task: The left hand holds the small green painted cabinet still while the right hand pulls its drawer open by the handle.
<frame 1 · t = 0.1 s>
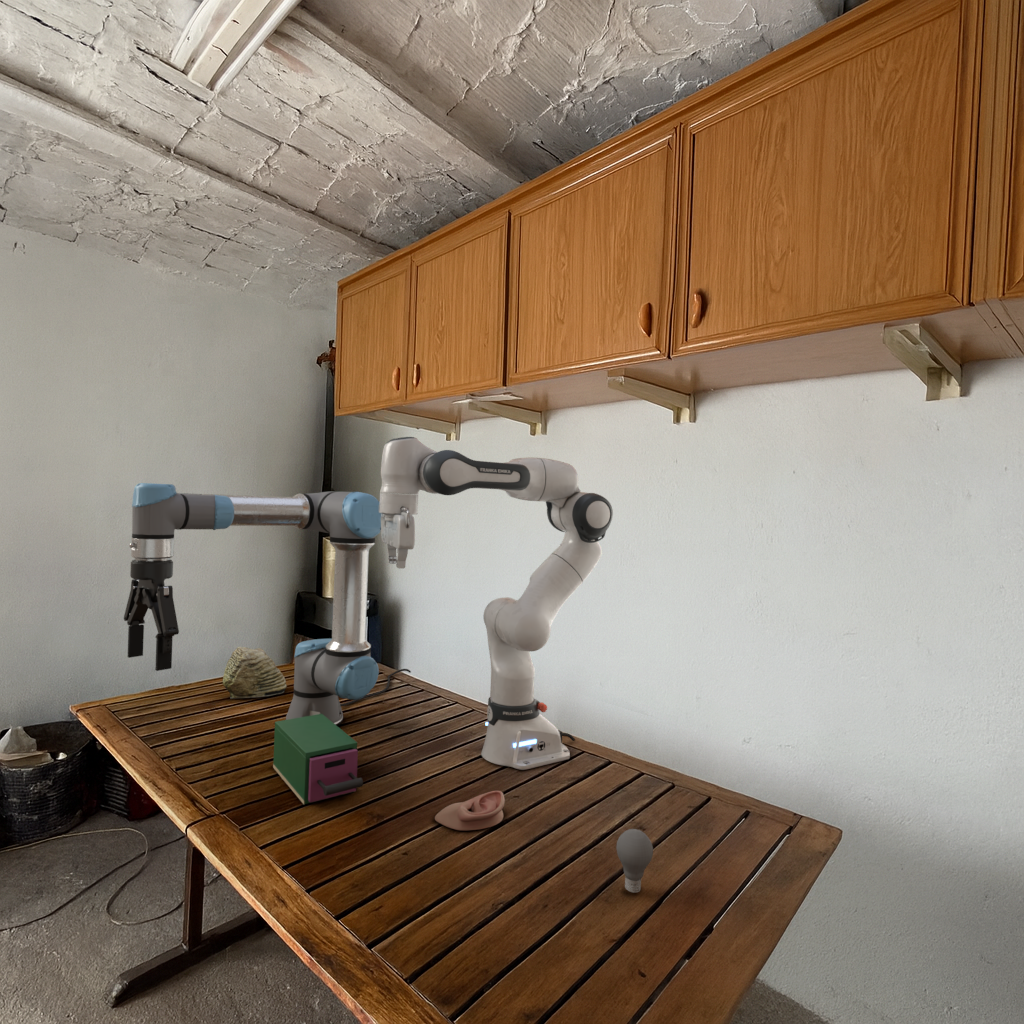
left hand: (148, 662, 129), 28 cm above the table, tool pointing down, fingers open, 13 cm apart
right hand: (396, 565, 147), 48 cm above the table, tool pointing down, fingers open, 8 cm apart
light bulb: (632, 891, 106), on the table
fossil: (254, 694, 198), on the table
cabinet: (312, 779, 142), on the table
anatomical model: (470, 818, 128), on the table
drawer: (322, 763, 138), point 5 cm above the table, slide at 0.6 cm
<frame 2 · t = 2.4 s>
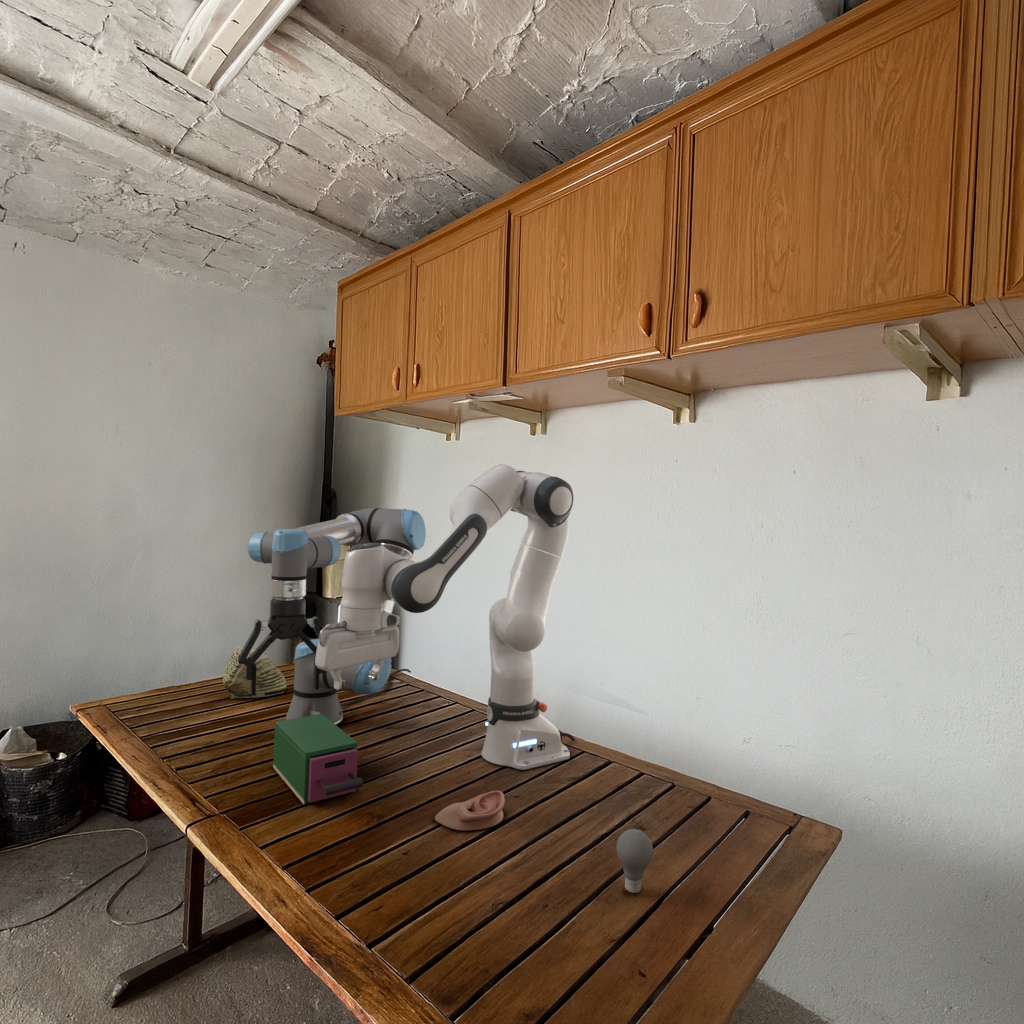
left hand: (285, 690, 144), 19 cm above the table, tool pointing down, fingers open, 13 cm apart
right hand: (356, 684, 134), 24 cm above the table, tool pointing down, fingers open, 8 cm apart
nothing on the table moved.
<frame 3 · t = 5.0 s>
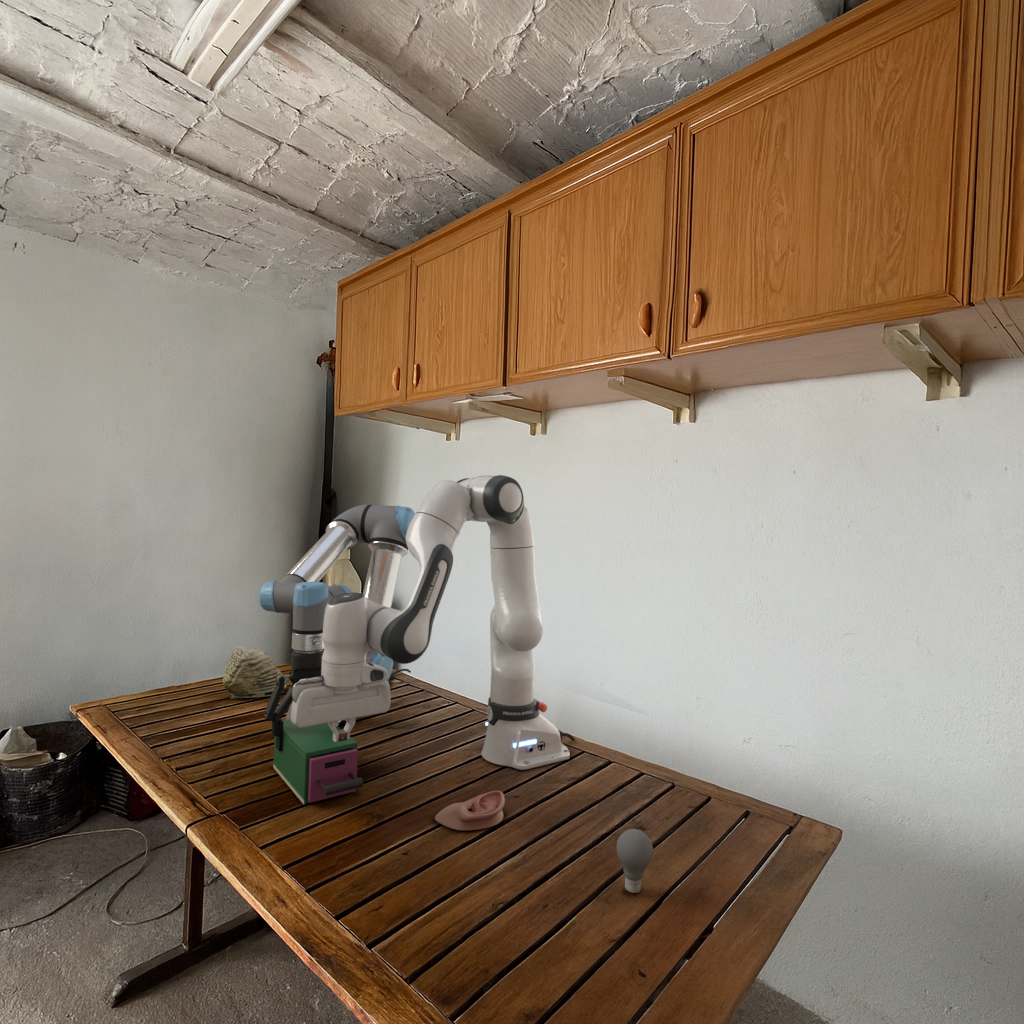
left hand: (305, 744, 146), 6 cm above the table, tool pointing down, fingers closed on cabinet, 11 cm apart
right hand: (341, 740, 130), 14 cm above the table, tool pointing down, fingers closed
cabinet: (312, 779, 142), on the table, touching left hand
everything else where it was.
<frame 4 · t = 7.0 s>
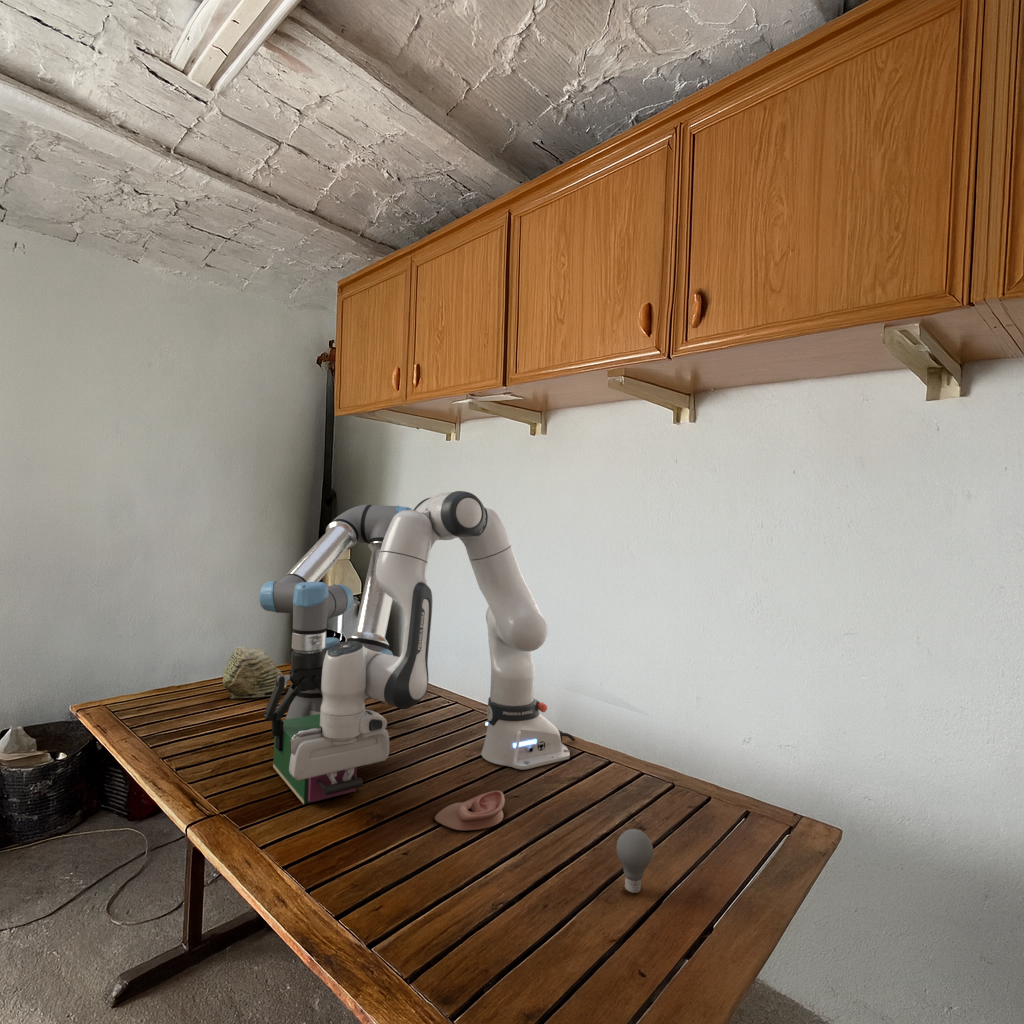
left hand: (305, 743, 146), 6 cm above the table, tool pointing down, fingers closed on cabinet, 11 cm apart
right hand: (339, 790, 130), 4 cm above the table, tool pointing down, fingers closed, pressing on drawer
cabinet: (312, 778, 142), on the table, touching left hand
drawer: (322, 763, 138), point 5 cm above the table, slide at 0.6 cm, touching right hand
everything else where it was.
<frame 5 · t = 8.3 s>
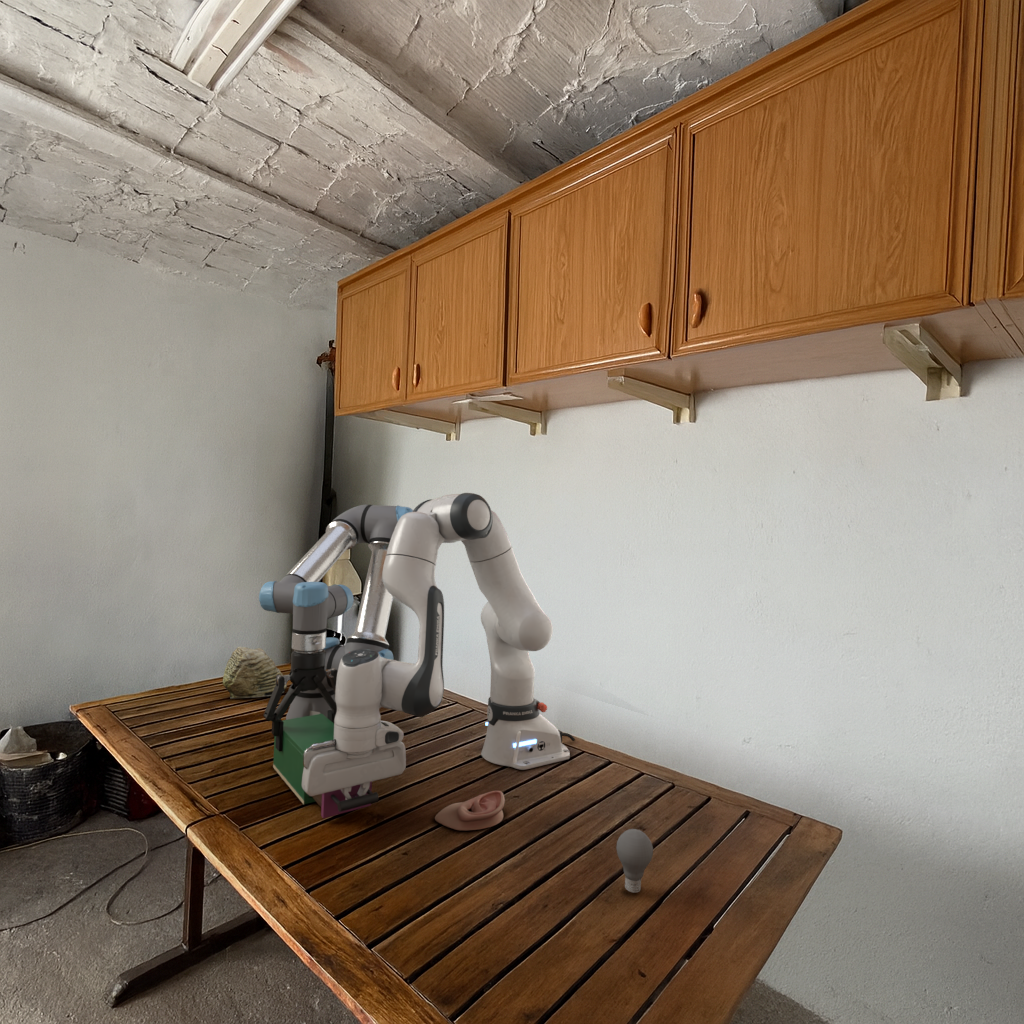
left hand: (305, 744, 146), 6 cm above the table, tool pointing down, fingers closed on cabinet, 11 cm apart
right hand: (354, 805, 123), 4 cm above the table, tool pointing down, fingers closed, pressing on drawer
cabinet: (312, 779, 142), on the table, touching left hand
drawer: (335, 776, 132), point 5 cm above the table, slide at 8.1 cm, touching right hand
everything else where it was.
when the left hand's fingers open (6 cm above the table, at t = 10.1 s): cabinet stays where it is, on the table.
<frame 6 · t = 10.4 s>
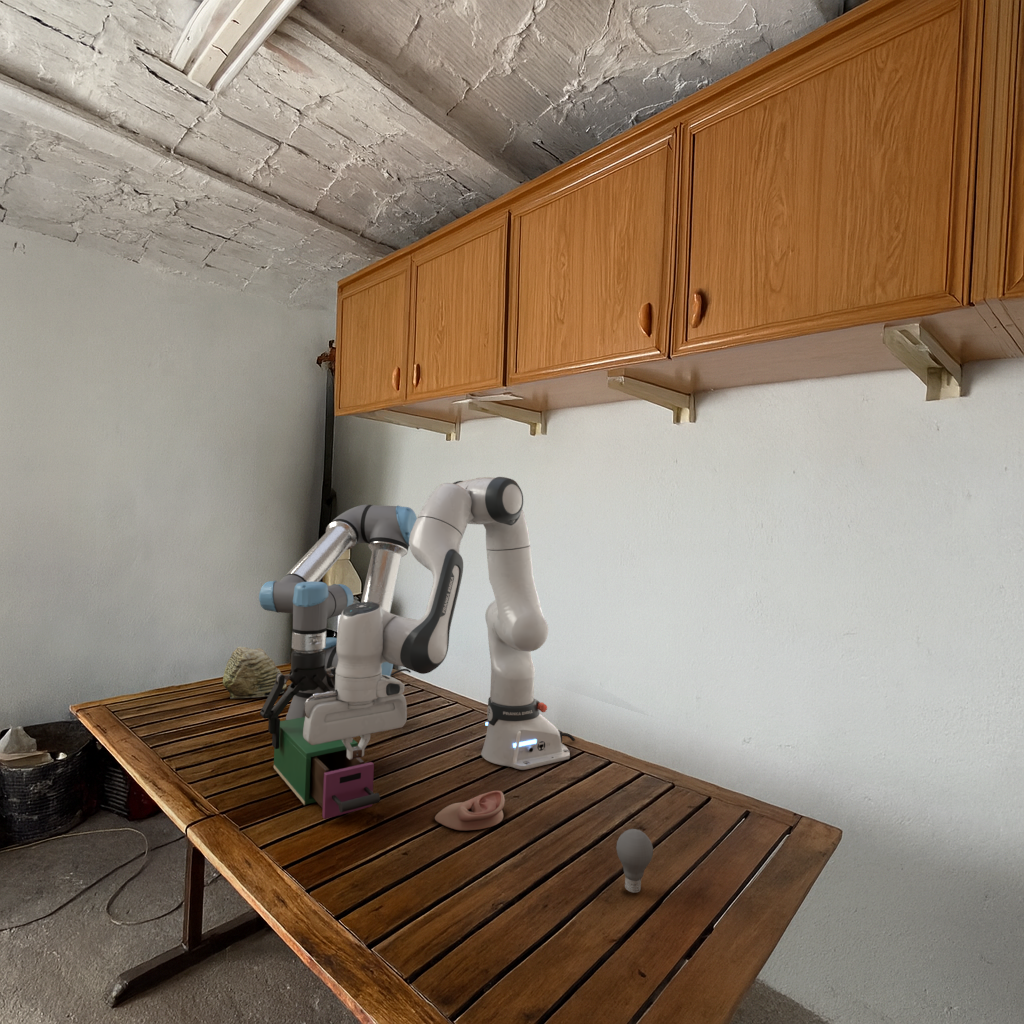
left hand: (305, 741, 146), 7 cm above the table, tool pointing down, fingers open, 13 cm apart
right hand: (355, 757, 124), 13 cm above the table, tool pointing down, fingers closed
cabinet: (313, 779, 142), on the table
drawer: (336, 777, 131), point 5 cm above the table, slide at 8.3 cm
everything else where it was.
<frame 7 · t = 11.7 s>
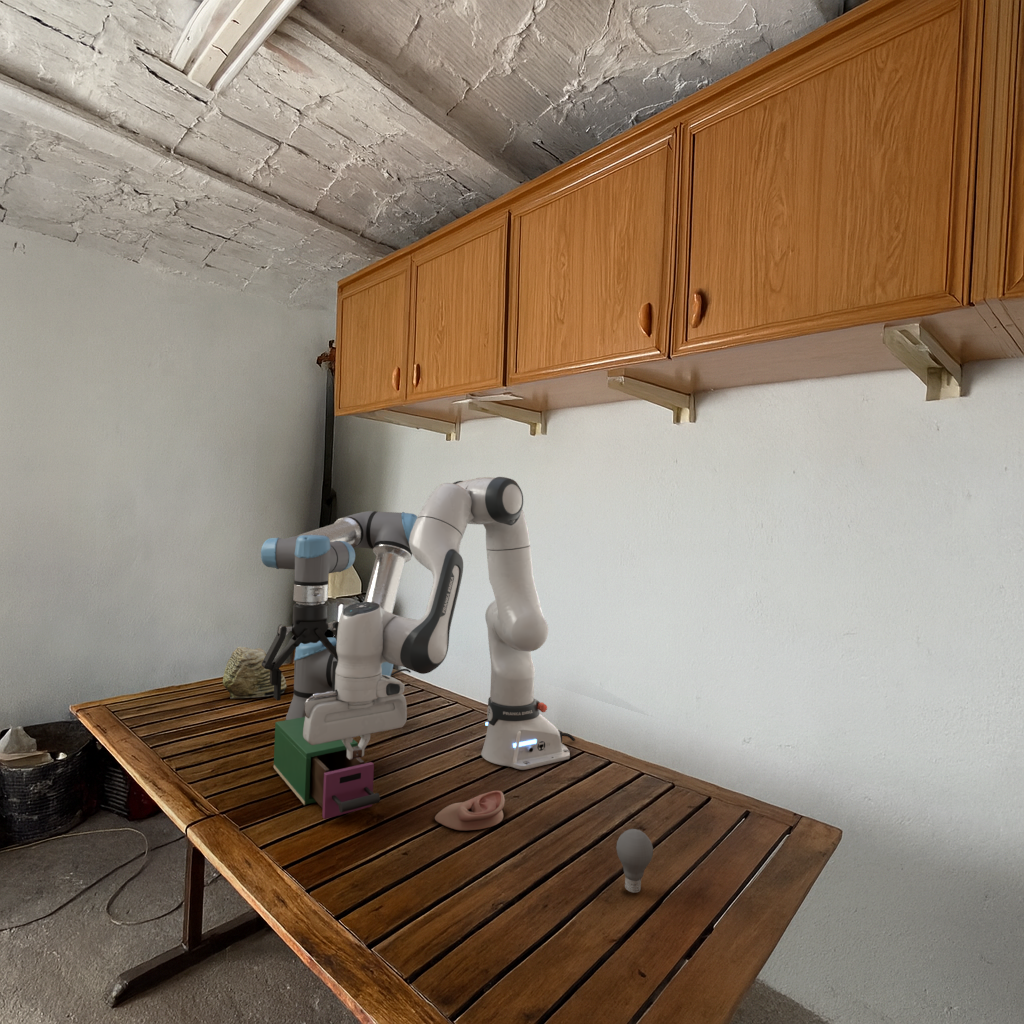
left hand: (307, 694, 146), 18 cm above the table, tool pointing down, fingers open, 13 cm apart
right hand: (355, 757, 124), 13 cm above the table, tool pointing down, fingers closed
nothing on the table moved.
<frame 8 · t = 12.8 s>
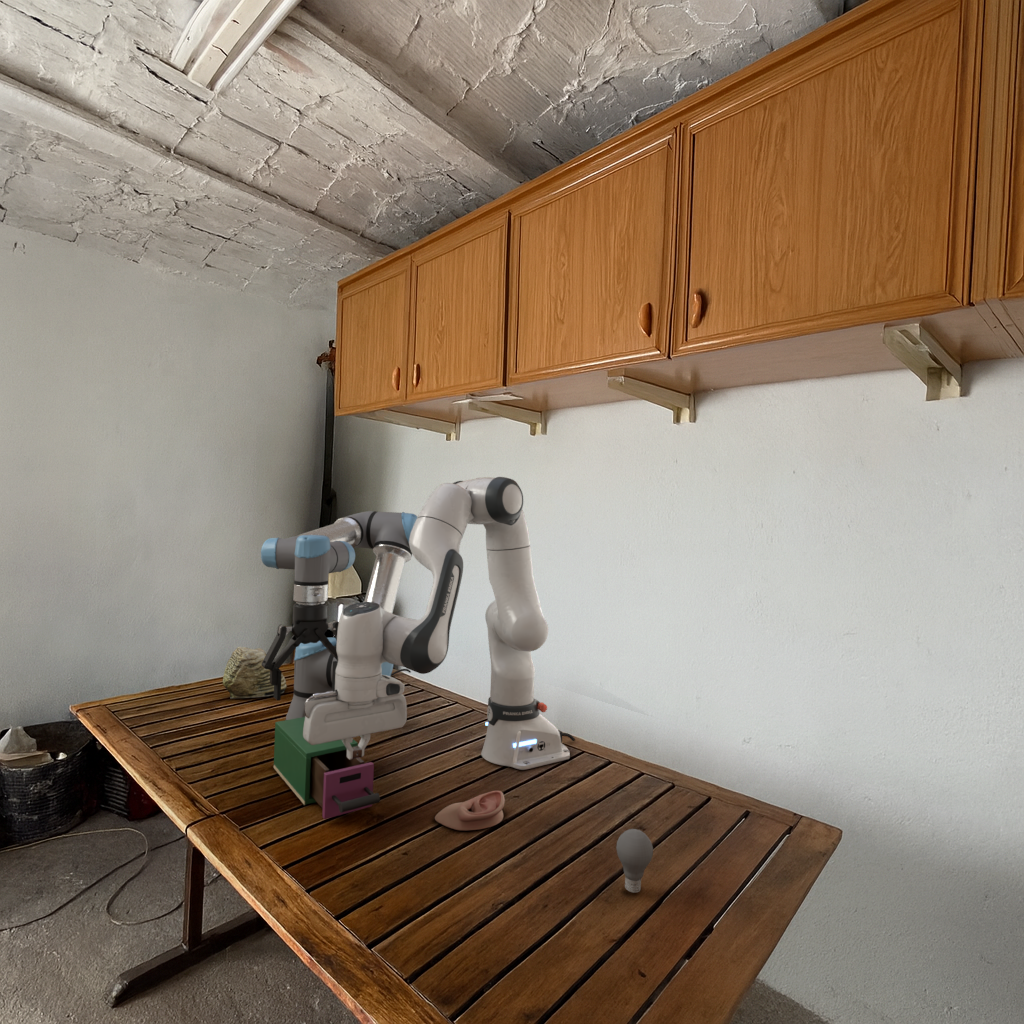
left hand: (307, 694, 146), 18 cm above the table, tool pointing down, fingers open, 13 cm apart
right hand: (355, 757, 124), 13 cm above the table, tool pointing down, fingers closed
nothing on the table moved.
at the end: drawer slide at 8.3 cm; cabinet tilted 0°; cabinet never tilted more than 1° during the clip; cabinet moved 0.3 cm from its start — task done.
